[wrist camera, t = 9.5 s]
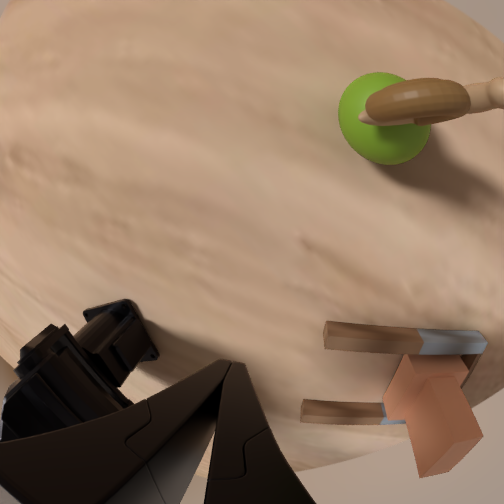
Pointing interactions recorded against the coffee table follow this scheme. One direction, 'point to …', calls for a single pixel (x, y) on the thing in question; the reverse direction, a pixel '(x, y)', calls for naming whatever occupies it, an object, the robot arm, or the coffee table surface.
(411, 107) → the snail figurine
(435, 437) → the block
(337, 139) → the coffee table surface
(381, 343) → the beam slot
